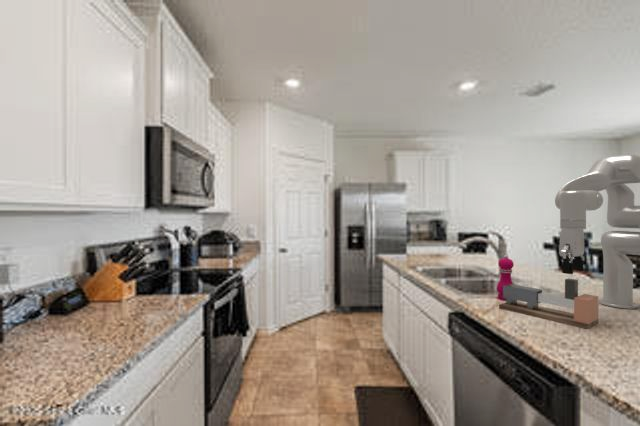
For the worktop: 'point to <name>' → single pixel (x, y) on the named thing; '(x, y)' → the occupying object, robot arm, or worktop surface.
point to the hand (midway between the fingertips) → (572, 271)
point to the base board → (547, 314)
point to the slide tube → (563, 301)
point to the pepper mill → (504, 275)
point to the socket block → (585, 308)
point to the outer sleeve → (521, 295)
